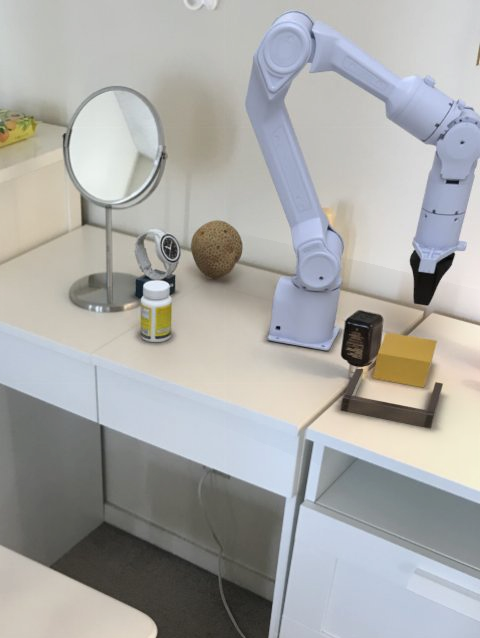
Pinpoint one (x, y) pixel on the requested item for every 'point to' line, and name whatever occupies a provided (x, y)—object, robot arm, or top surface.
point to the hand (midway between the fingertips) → (421, 303)
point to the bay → (389, 405)
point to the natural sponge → (216, 248)
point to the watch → (167, 255)
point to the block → (404, 359)
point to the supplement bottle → (156, 311)
